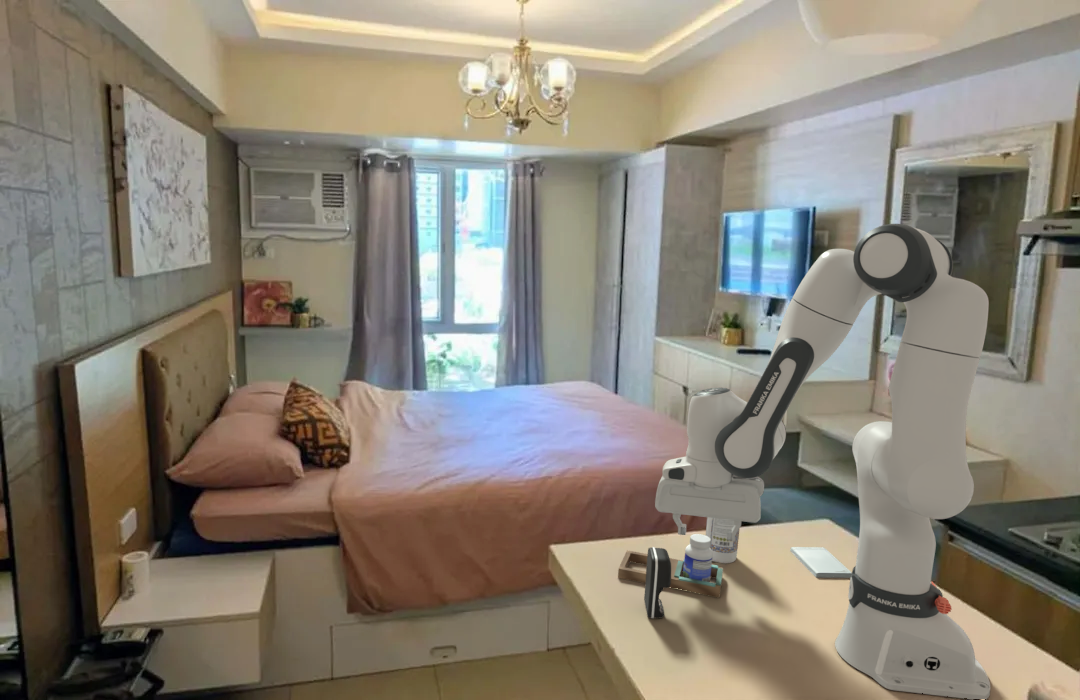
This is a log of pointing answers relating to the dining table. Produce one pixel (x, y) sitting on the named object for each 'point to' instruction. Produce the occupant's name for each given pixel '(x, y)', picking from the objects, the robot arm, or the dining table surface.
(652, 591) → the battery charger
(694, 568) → the pill bottle
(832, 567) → the hard drive
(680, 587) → the wooden frame
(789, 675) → the dining table surface
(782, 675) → the dining table surface
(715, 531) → the bath foam
